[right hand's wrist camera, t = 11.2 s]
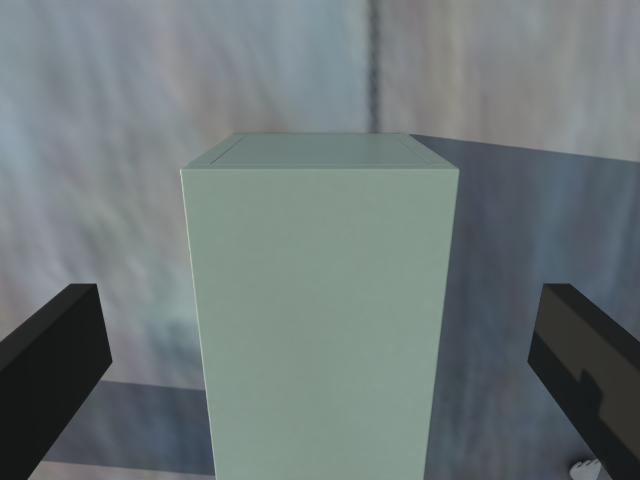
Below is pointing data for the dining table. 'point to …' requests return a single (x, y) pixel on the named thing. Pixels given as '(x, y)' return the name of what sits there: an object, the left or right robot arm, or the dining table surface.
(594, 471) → the fork
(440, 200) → the cabinet
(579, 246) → the dining table surface
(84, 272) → the dining table surface
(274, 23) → the dining table surface
